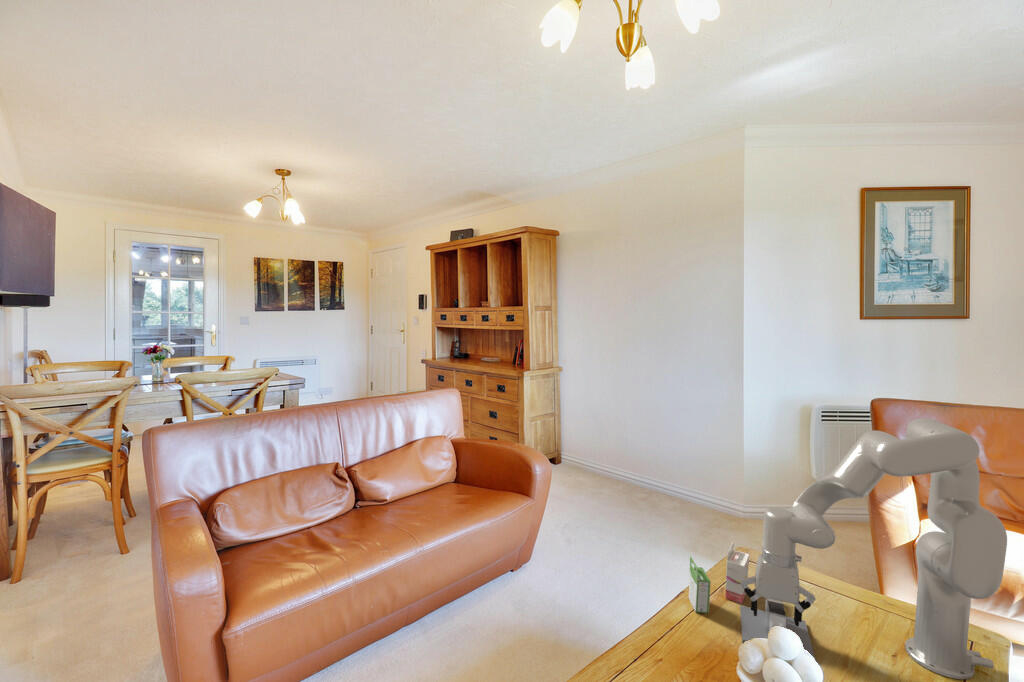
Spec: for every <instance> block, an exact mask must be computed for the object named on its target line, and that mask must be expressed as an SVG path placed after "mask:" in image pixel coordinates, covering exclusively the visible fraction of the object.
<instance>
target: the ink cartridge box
mask: <svg viewBox="0 0 1024 682" xmlns="http://www.w3.org/2000/svg"><path fill="white" fill-rule="evenodd" d="M734 546H735V541H732V544H731V545H730V547H729V549H728V551H727V558H726V570H725V571H726V573H725V574H726V575H725V576H726V577H725V597H724V598H725V599H727V600H729V601H733V602H735V603H738V604H741V605H742V604H743V603H744V600H745V597H746V595H747V594H746V593H745V592H744V589H743V587H742V585H741V583H740V580H741V579H744V578H748V576H749V562H750V554H749V553H746V552H742V551H739V550H735V549H734Z"/></svg>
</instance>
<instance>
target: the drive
mask: <svg viewBox="0 0 1024 682" xmlns="http://www.w3.org/2000/svg"><path fill="white" fill-rule="evenodd" d="M765 611H766V622H767V629H768V633H769V631H770V629H771V628H772V627H774V626H780V627H784V628H786V616H787V615H786V611H785V607H784V602H782V601H778V600H773V599H769V598H765Z"/></svg>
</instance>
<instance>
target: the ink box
mask: <svg viewBox="0 0 1024 682" xmlns="http://www.w3.org/2000/svg"><path fill="white" fill-rule="evenodd" d="M688 576H689V578H688V581H689V582H688V586H689V587H688V600H689V602H690V604H691V606H692V608H693V610H694V612H695V613H698V614H709V613H710V597H711V580H710V578H709V577H708V575H707V573H706V571H705V570H704V567H699V566H698V565H697V563H695V561H694V559H693V558H692V556H691V555H689V575H688Z"/></svg>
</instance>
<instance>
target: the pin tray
mask: <svg viewBox="0 0 1024 682" xmlns="http://www.w3.org/2000/svg"><path fill="white" fill-rule="evenodd" d="M739 606H740V607H739V608H740V609H739V610H740V613H739V614H740V625H741V626H740V627H741V641H742V644H744V643H743V642H745V641H748V640H751V639H753V638H768V629H767V622H766V610H761V609H758V608H757V616H754V612H753V611H752V610H751V607H749V606H746V605H742V604H741V605H739ZM786 628H787V629H790V630H792V631H793V632H795V633H796V634H797V635H798V636H799V637H800V639H801V641H802V643H803V647H804V649H805V650H807V651H808V652H809V653H810V654H811V655H812V656H813V657H814V658H815V659H816V655H815V653H814V649H813V645H812V642H811V637H810V634H809V631H808V626H807V622H806V620H803V619H802V622H799V627H798V626H796V625H795V622H794V617H791V616H787V615H786Z"/></svg>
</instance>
